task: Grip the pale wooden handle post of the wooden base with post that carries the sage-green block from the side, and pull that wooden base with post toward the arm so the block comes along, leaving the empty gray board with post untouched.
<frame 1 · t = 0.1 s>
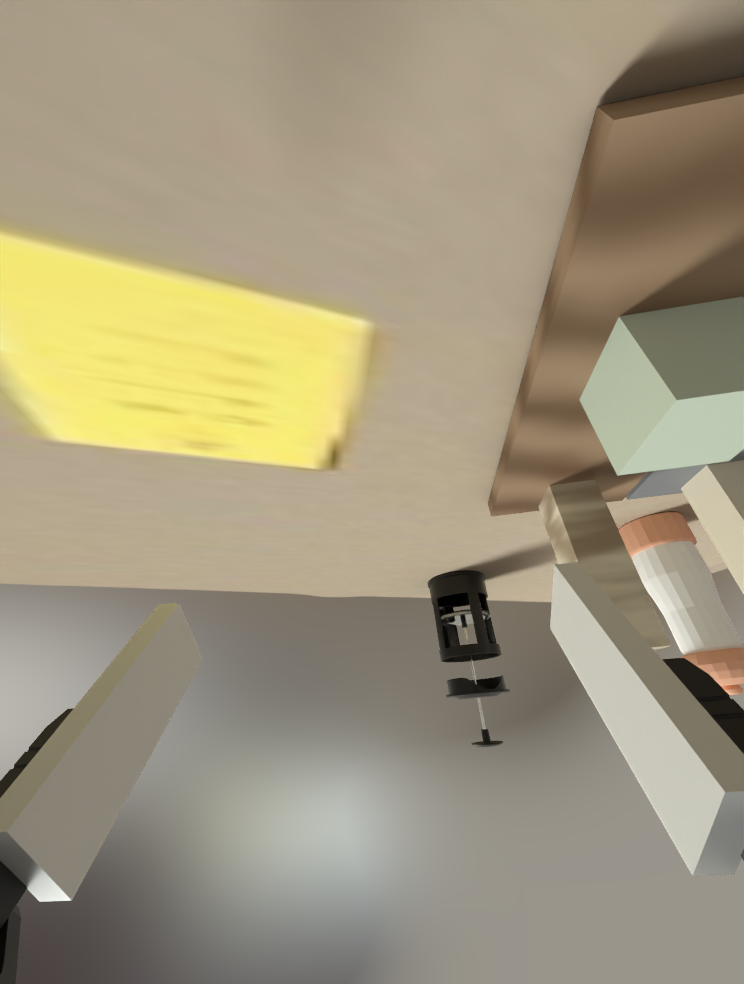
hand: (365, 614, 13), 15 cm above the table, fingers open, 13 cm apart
pepper shaker: (647, 523, 48), on the table
wooden base with post: (665, 481, 22), point 8 cm above the table, slide at 0.0 cm, touching sage block
sage block: (650, 354, 21), point 2 cm above the table, touching wooden base with post
french press: (454, 580, 62), on the table
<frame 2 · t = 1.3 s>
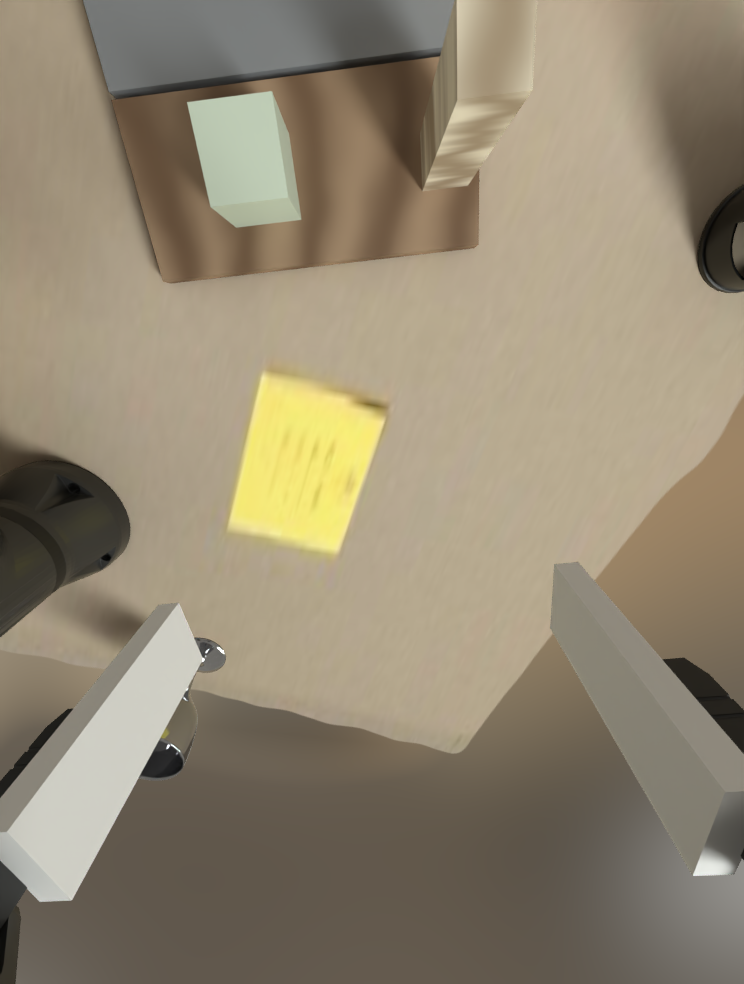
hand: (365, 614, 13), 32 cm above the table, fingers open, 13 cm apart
wooden base with post: (293, 143, 26), point 8 cm above the table, slide at 0.0 cm, touching sage block
wine glass: (202, 654, 57), on the table
sage block: (261, 182, 32), point 2 cm above the table, touching wooden base with post
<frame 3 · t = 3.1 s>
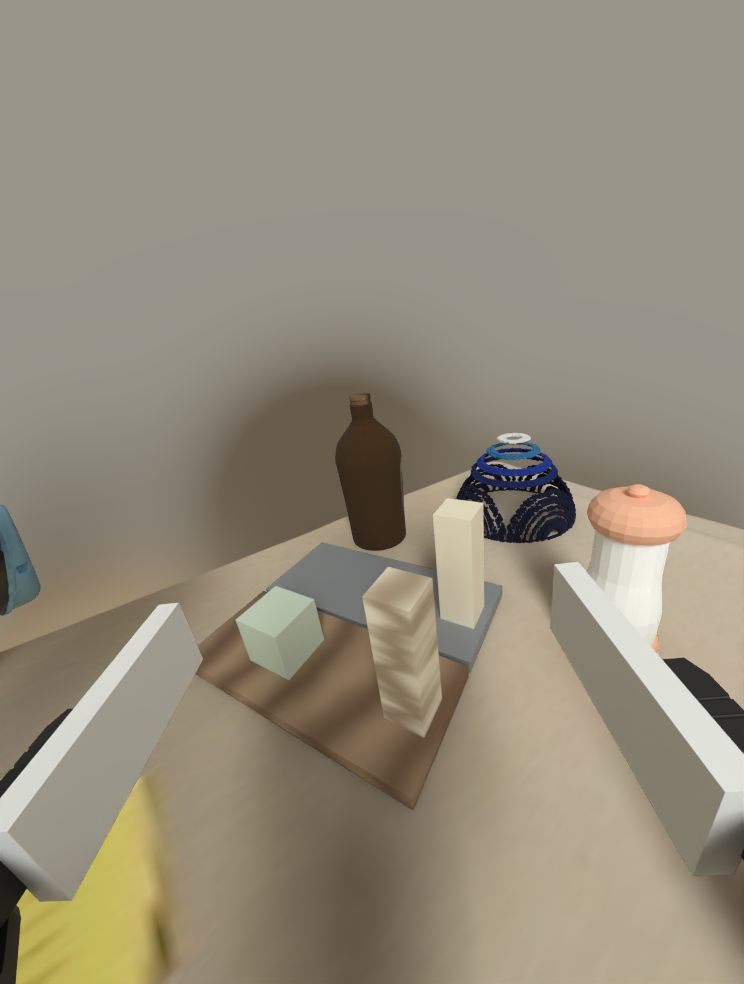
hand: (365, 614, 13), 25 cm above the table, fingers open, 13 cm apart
gray board with post: (371, 548, 48), point 8 cm above the table, slide at 0.0 cm
pepper shaker: (609, 654, 39), on the table
wooden base with post: (302, 618, 38), point 8 cm above the table, slide at 0.0 cm, touching sage block
olive oil: (380, 537, 66), on the table
blue ringed dome: (511, 514, 67), on the table
sage block: (287, 649, 42), point 2 cm above the table, touching wooden base with post
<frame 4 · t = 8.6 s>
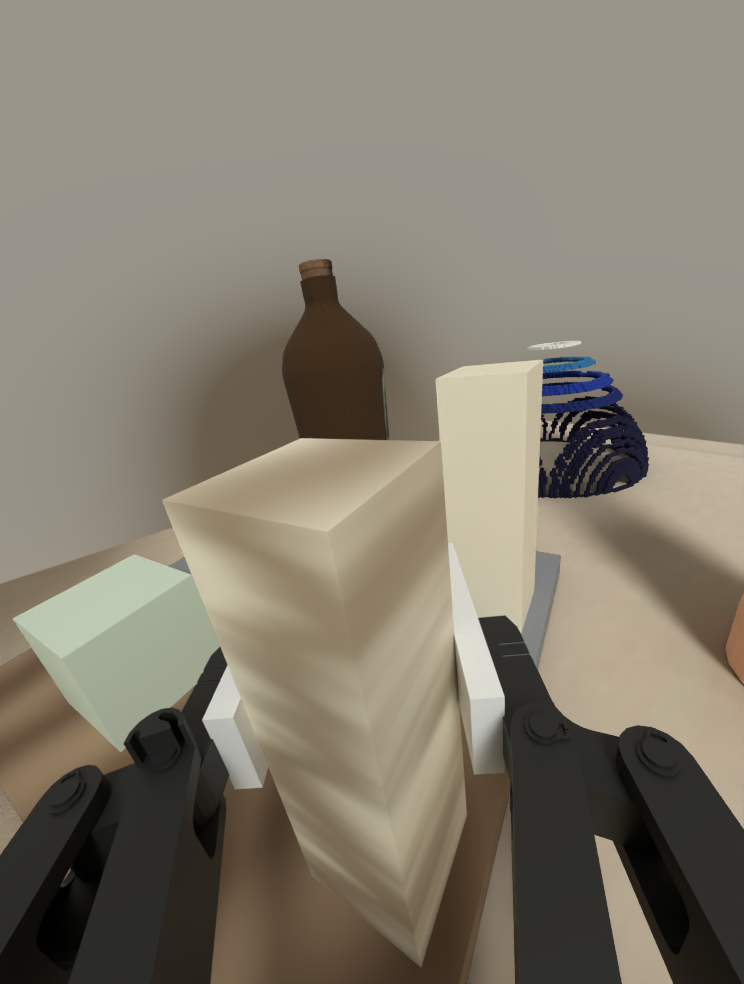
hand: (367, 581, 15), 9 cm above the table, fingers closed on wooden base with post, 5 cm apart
gray board with post: (325, 492, 27), point 8 cm above the table, slide at 0.0 cm
wooden base with post: (144, 612, 17), point 8 cm above the table, slide at 0.0 cm, touching gripper, sage block
olive oil: (356, 501, 45), on the table
blue ringed dome: (547, 467, 47), on the table
sage block: (149, 679, 21), point 2 cm above the table, touching wooden base with post
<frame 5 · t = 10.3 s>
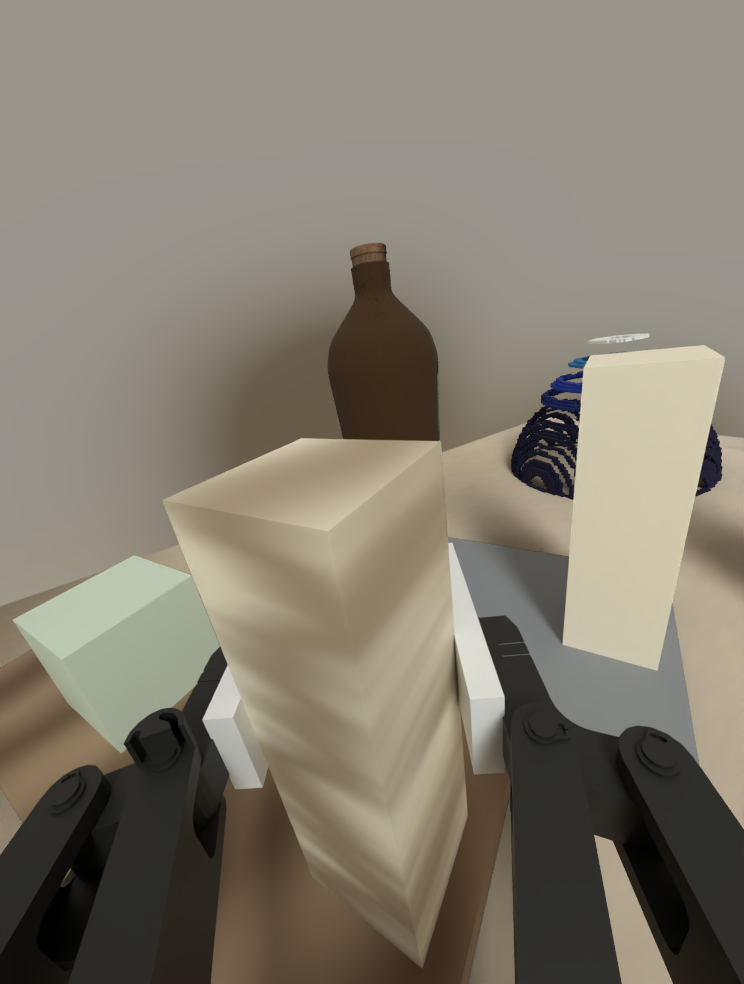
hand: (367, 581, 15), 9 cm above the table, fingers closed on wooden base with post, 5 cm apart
gray board with post: (398, 501, 24), point 8 cm above the table, slide at 0.0 cm
wooden base with post: (144, 613, 17), point 8 cm above the table, slide at 6.0 cm, touching gripper, sage block
olive oil: (400, 507, 42), on the table
blue ringed dome: (603, 470, 44), on the table
sage block: (149, 680, 21), point 2 cm above the table, touching wooden base with post
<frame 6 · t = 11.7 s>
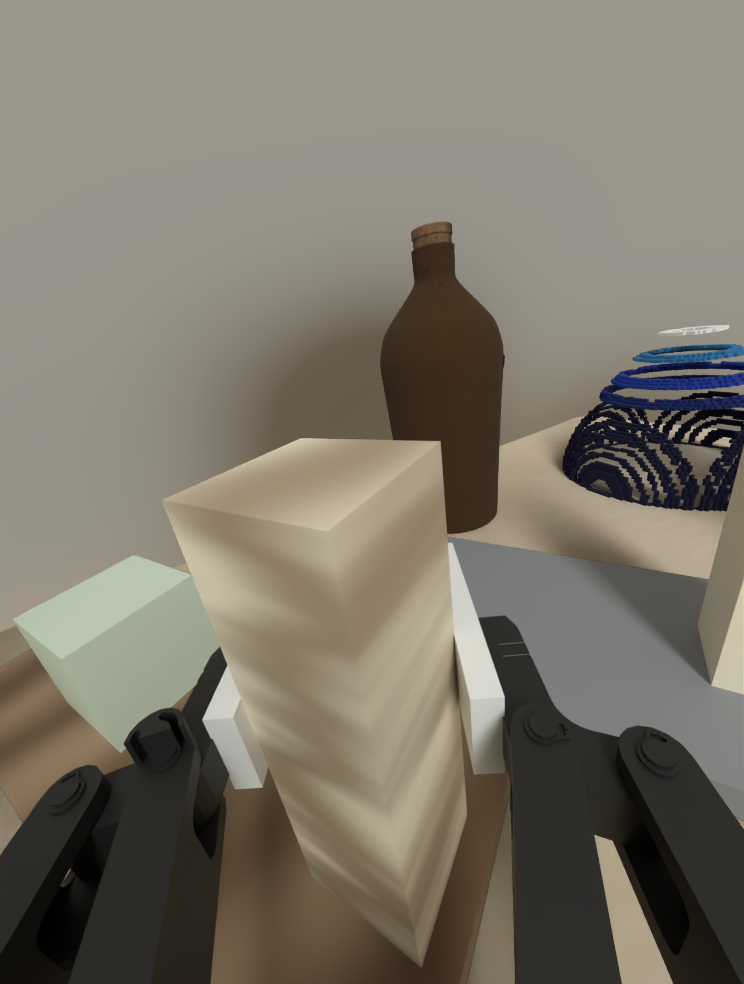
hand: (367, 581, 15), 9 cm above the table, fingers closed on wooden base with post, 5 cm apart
gray board with post: (491, 512, 21), point 8 cm above the table, slide at 0.0 cm
wooden base with post: (144, 613, 17), point 8 cm above the table, slide at 11.9 cm, touching gripper, sage block
olive oil: (451, 513, 39), on the table
blue ringed dome: (666, 472, 41), on the table
sage block: (148, 680, 21), point 2 cm above the table, touching wooden base with post
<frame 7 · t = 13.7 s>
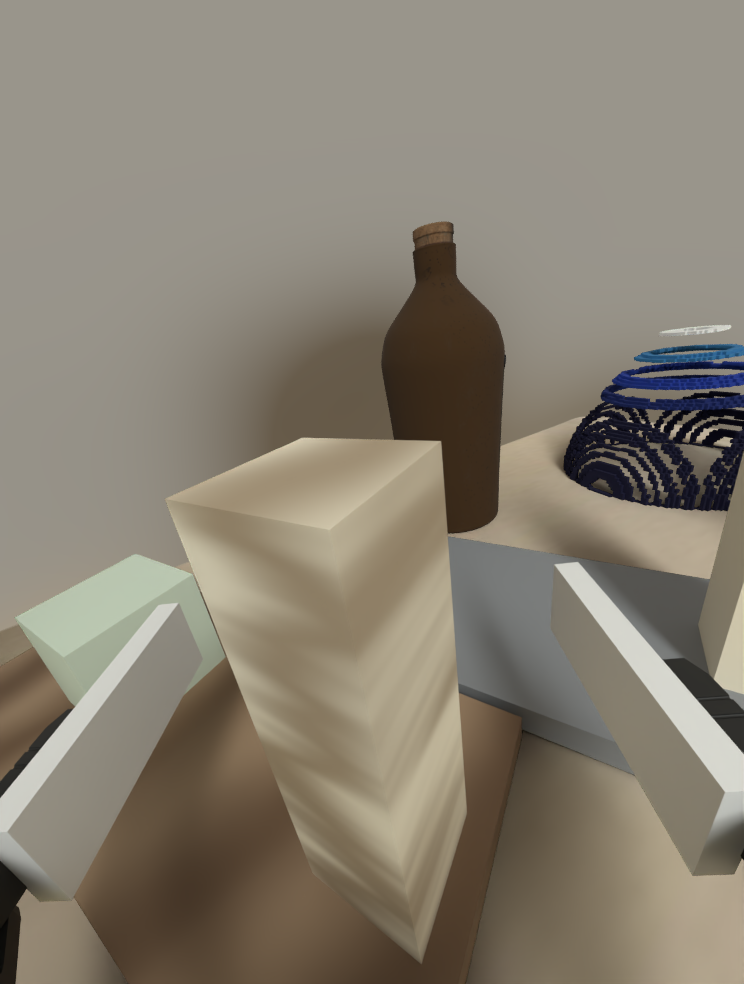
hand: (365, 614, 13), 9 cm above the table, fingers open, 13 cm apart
gray board with post: (492, 512, 21), point 8 cm above the table, slide at 0.0 cm
wooden base with post: (145, 611, 17), point 8 cm above the table, slide at 12.0 cm, touching sage block
olive oil: (451, 513, 39), on the table
blue ringed dome: (667, 472, 41), on the table
sage block: (150, 678, 21), point 2 cm above the table, touching wooden base with post
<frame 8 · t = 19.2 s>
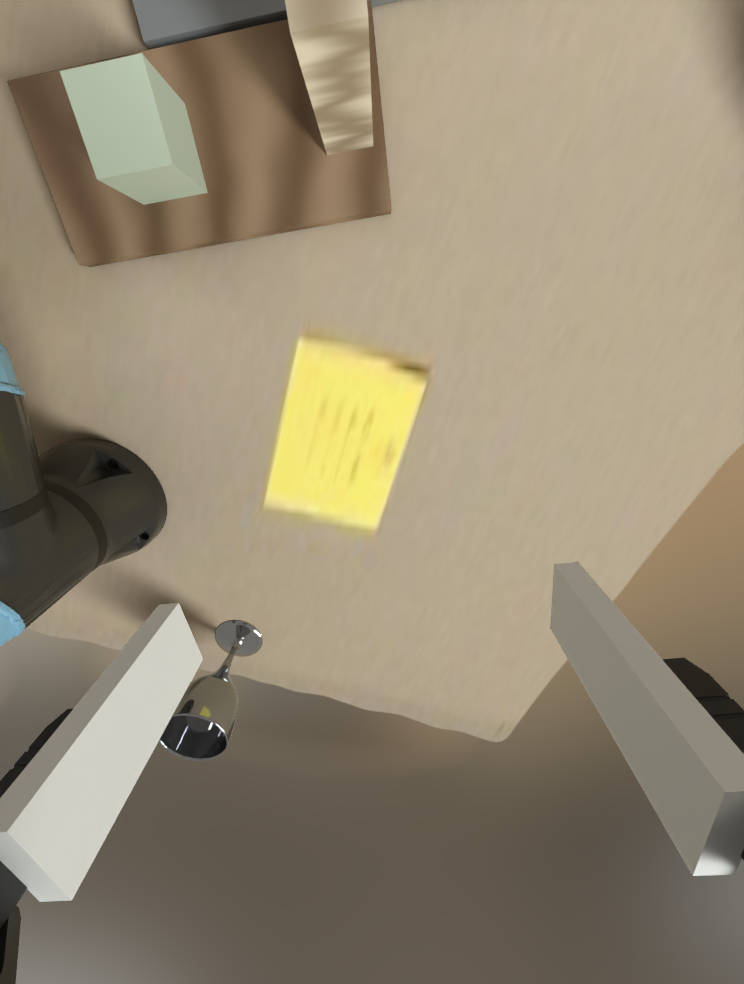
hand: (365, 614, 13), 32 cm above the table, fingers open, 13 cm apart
wooden base with post: (169, 106, 26), point 8 cm above the table, slide at 12.0 cm, touching sage block
wine glass: (239, 637, 56), on the table
sage block: (163, 156, 32), point 2 cm above the table, touching wooden base with post
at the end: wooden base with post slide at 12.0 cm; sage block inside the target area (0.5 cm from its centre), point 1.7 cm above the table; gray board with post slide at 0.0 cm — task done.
